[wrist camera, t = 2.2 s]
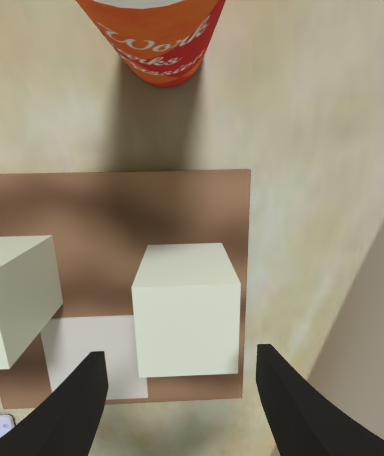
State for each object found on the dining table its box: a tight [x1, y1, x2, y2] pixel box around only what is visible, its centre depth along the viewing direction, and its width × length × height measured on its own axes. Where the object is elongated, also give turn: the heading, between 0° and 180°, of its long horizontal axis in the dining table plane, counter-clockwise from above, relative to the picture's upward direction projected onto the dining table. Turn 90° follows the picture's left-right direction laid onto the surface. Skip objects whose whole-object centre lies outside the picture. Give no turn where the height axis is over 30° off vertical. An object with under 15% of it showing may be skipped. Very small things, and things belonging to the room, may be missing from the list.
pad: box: [40, 315, 148, 400], centre depth 23 cm, size 8×8×1 cm
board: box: [0, 169, 251, 409], centre depth 22 cm, size 21×22×1 cm
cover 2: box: [131, 243, 241, 378], centre depth 18 cm, size 6×6×7 cm
